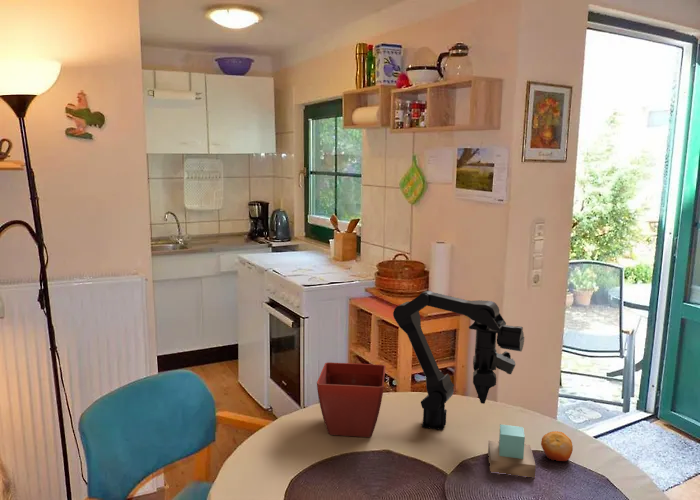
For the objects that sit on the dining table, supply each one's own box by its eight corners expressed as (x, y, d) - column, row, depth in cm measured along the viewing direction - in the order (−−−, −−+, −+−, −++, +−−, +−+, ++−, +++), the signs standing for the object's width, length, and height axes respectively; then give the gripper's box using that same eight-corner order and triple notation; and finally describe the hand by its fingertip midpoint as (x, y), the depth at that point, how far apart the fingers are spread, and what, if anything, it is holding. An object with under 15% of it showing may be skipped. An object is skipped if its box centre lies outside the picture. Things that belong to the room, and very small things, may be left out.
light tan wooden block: (490, 474, 144) (491, 460, 144) (487, 454, 155) (488, 440, 154) (534, 480, 142) (535, 465, 142) (529, 458, 153) (530, 444, 152)
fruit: (571, 445, 157) (573, 428, 152) (571, 471, 151) (573, 454, 146) (540, 440, 159) (542, 424, 154) (539, 465, 153) (541, 449, 149)
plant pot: (324, 411, 179) (325, 361, 177) (384, 415, 177) (385, 364, 175) (315, 439, 160) (316, 383, 158) (381, 444, 158) (383, 387, 156)
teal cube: (499, 455, 146) (500, 434, 145) (498, 445, 152) (500, 424, 151) (523, 459, 145) (524, 437, 144) (521, 448, 150) (523, 427, 150)
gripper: (516, 358, 150) (513, 413, 152) (512, 338, 168) (509, 388, 170) (474, 354, 152) (471, 408, 155) (474, 335, 170) (471, 384, 173)
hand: (482, 397), depth 163 cm, fingers open, 9 cm apart
